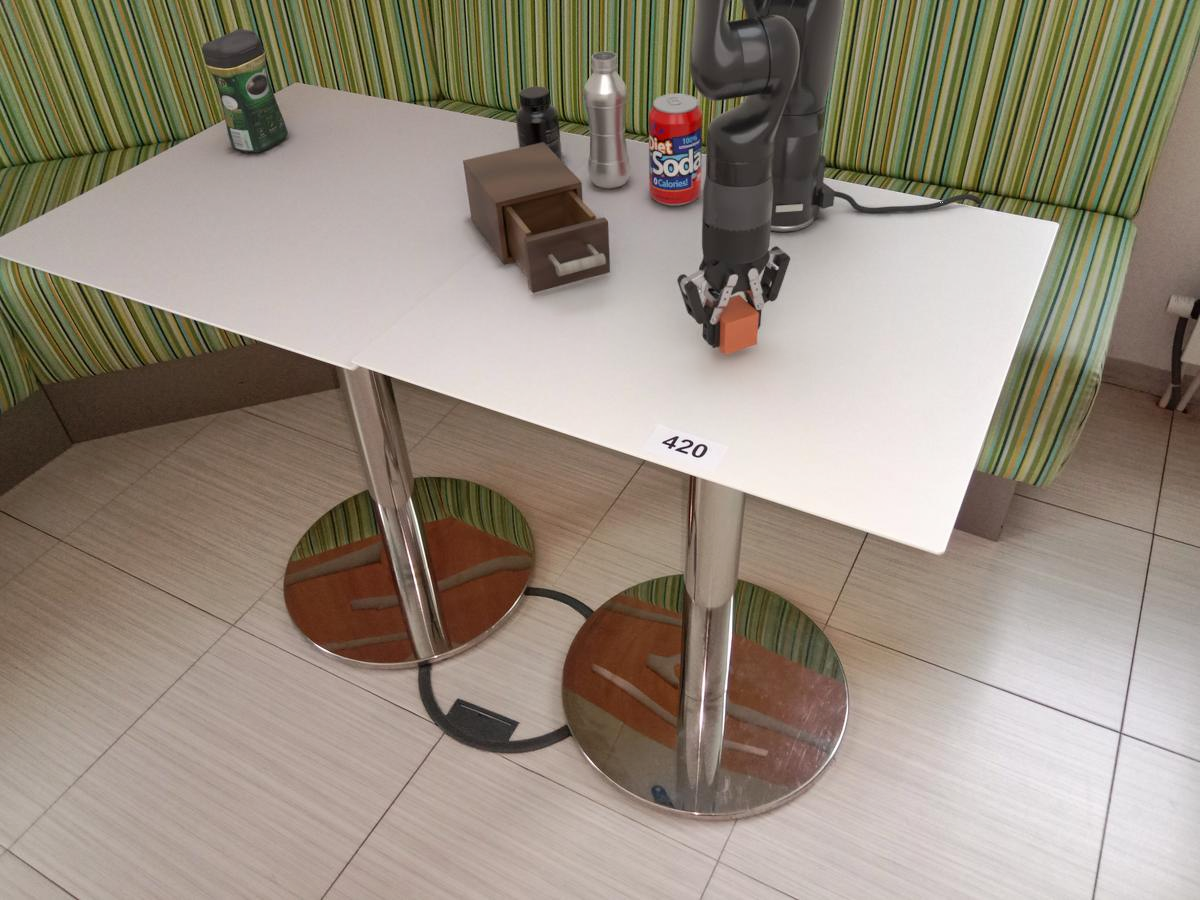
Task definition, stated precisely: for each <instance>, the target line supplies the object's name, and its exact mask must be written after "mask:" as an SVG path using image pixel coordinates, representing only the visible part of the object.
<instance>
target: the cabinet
mask: <svg viewBox="0 0 1200 900" xmlns="http://www.w3.org/2000/svg"><path fill="white" fill-rule="evenodd" d="M462 162H463V170H464V177H465V185H466V190H467V199H468V204H469V213H470V218H471V221H472V222H473V224H474V226H475V227H476V228H477V229H478V231H479V233H480V234H481V235H482V236H483V239H485V241H486V242H487V244H488V245H489V246H490V248H491V249H492V251H493V252H494V253H495V254H496V255H495V256H497V257H498V259H499V260H500V262H501V263H502V265H508V264H511V263H517V262H516V261H515V259H514V258H513V256H512V255H511V254H510V252H509V251H508V250H507V246H506V238H505V229H504V221H503V213H502V207H503V206H507V205H511V204H515V203H519V202H523V201H527V200H531V199H535V198H539V197H544V196H548V195H552V194H556V193H560V192H564V191H568V190H573V191H574V193H575V194H576V195H577V196H578V197H579V198H580V199H581V200H582V201H583V202H584V199H583V182H582V180H580V179H579V177H578V176H577V175H576V174H575V173H574V172H573V171H572V170H571V169H570V168H569V167H568V166H567V165H566V164H565V163H564V162H563V160H562V161H561V160H560V159H559V158H558V157H557V156H556V155H555V154H554V153H553V152H552V150H551V149H550V148H549V147H548V146H547V145H546V144H545V143H544V142H542V143H538V144H533V145H529V146H524V147H520V148H519V147H517V148H512V149H508V150H502V151H498V152H493V153H489V154H485V155H481V156H477V157H473V158H467V159H464V160H463V159H462Z"/></svg>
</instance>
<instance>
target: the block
mask: <svg viewBox="0 0 1200 900" xmlns="http://www.w3.org/2000/svg"><path fill="white" fill-rule="evenodd" d="M758 320H759V313H758V312H757V311H756V310H755V309H754V308H753V307H752V306H751V305H750V304H749V303H748V302H747V300H746V299H745V298H744V297H743V296H742V295H740V294H737V295H734V296H730V299H729V302H728V304H727V307H724V308H723V311H722V313H721V316H720V319H719V322H720V346H719V347H716V348H717V349H718V350H719V352H721V353H722V354H723V355H724V356H725V355H728V354H731V353H734V352H738V351H740V350H743V349H747V348H749V347H752V346H756V345H757V344H758V332H759V329H758Z"/></svg>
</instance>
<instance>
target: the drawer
mask: <svg viewBox="0 0 1200 900" xmlns="http://www.w3.org/2000/svg"><path fill="white" fill-rule="evenodd" d="M502 213H503V221H504V229H505V238H506V246H507V250H508V251H509V252H510V254H511V255H512V256H513V258H514V259H515V261H516V262H515V263H517V265H518V267H519V268H520V269H521V270H522V272H523V273H524V274H525V276H526V277H527V280H528V288H529V290H530V292H531V293H532V294H535V293H539V292H542V291H546V290H550V289H553V288H557V287H561V286H564V285H565V286H566V285H568V284H572V283H575V282H580V281H583V280H586V279H587V280H588V279H590V278H594V277H598V276H601V275H604V274H608V273H611V266H610V265H611V261H610V260H611V259H610V236H609V235H610V234H609V221H608V220H607V218H606V217H605V216H604V217H603V216H602V217H600V218H596V217H597V216H596V215H597V214H596V213H594V212H593V211H592V210H591V208H590V207H589V206H587V204H586V203H585V202H584V200H583V201H582V200H581V199H580V198H579V197H578V196H577V195H576V194H575V193H574V191H573V190H568V191H564V192H560V193H556V194H552V195H548V196H544V197H539V198H535V199H531V200H527V201H523V202H519V203H515V204H511V205H507V206H503V207H502Z"/></svg>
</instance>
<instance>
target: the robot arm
mask: <svg viewBox="0 0 1200 900" xmlns="http://www.w3.org/2000/svg"><path fill="white" fill-rule="evenodd" d="M731 1H732V0H695V4H694V5H695V6H694V19H693V28H692V29H693V30H692V37H691V45H690V52H689V54H690V55H689V72H690V77H691V80H692V83H693V85H694V87H695V88H696V90H697V91H698V93H699V94H700V95H701V96H702V97H704V98H705V99H707V100H709V101H716V102H717V101H718V102H719V101H726V100H732V99H737V98H743V97H745V98H744V100H743V101H742V102H741V103H740V104H738V105H736V106H734V107H733V108H731V109H729V110H727V111H724V112H722V113H720V114H718V115H717V116H715V117H713V118H712V120H711V121H710V122H709V124H708V126H707V129H706V130H707V131H706V142H705V144H706V145H705V149H706V150H705V151H706V152H705V158H706V159H705V177H704V182H703V189H702V216H701V217H702V218H701V250H702V260H701V263H700V264H699V268H698V270H697V271H695V272H694V273H692V274H690V275H686V274H685V273H683V274H682V273H681V274H680V275H679V276H678V277H677V279H676V281H677V284H678V285H677V286H678V287H679V290H680V294H681V297H682V300H683V303H684V306H685V309H686V312H687V314H688V315H689V316H691V317H692V319H693V320H694V321H695V322H696V324H698V325H702V334H701V335H702V339H703V340H704V341H705V342H706V344H707V345H709V346H710V347H711V348H712V349H716V348H717V347H719V346H720V322H719V319H720V316H721V313H722V311H723V308H724V307H727V304H728V302H729V299H730V297H732V296H733V295H735V294H736V293H740V292H742V293H743V295H744V300H746V301H747V302H748V303H749V304H750V305H751V306H752V307H753V308H754V309H755V310H756V311H757V312H758V313H759V320H758V330H759V329H760V327H761V325H762V310H763V308H764V307H765V304H766V303H768V302H775V301H776V300H777V299H778V296H779V294H780V291H781V288H782V285H783V282H784V280H785V276H786V273H787V270H788V267H789V264H790V262H791V257H790V255H789V254H787V253H786V252H785V251H784V250H782V249H781V248H780V247H779V246H777V245H775V246H773V247H772V248H771V249H770V243H771V232H785V233H786V232H787V233H788V232H795V231H800V230H802V229H805V228H807V227H809V226H810V225H811V224H812V223H813V221H814V220H817V219H819V218H820V213H821V209H822V210H823V209H827V208H830V207H834V203H835V198H839V199H843V200H845V201H847V202H848V203H849V204H850V206H851V207H852V208H853V209H855V210H856V211H859V212H862V213H867V214H879V213H880V214H881V213H892V212H893V213H894V212H896V213H897V212H899V213H900V212H917V211H918V212H919V211H927V210H934V209H938V208H941V207H944V206H947V205H949V204H952V203H955V202H958V201H962V200H969V201H971V202H974V203H976V204H978V205H983V204H984V202H983V200H982V199H981V198H980V197H978V196H976V195H974V194H972V193H962V194H958V195H954V196H952V197H949V198H946V199H943V200H941V201H937V202H933V203H927V204H926V203H925V204H917V205H896V206H895V205H894V206H879V207H869V206H864V205H860V204H859V203H857V202H856V200H855V199H854V198H853V197H852V196H851V195H849V194H846V193H844V192H841V191H837V190H834V189H833V188H832V187H830V186H829V185H827V183H825V182H824V178H825V170H826V163H827V158H826V156H825V155H824V154H823V153H822V145H823V134H824V125H825V117H826V106H827V102H828V101H827V100H828V93H829V90H830V87H831V82H832V79H833V75H834V70H835V64H836V63H835V62H836V56H837V50H838V44H839V39H840V32H841V28H842V27H841V26H842V21H843V12H844V0H741V2H742V5H743V9H744V12H745V13H744V14H745V17H746V18H742V19H737V20H736V19H735V20H729V21H728V20H727V13H728V7H729V4H730V2H731ZM940 202H941V203H940ZM942 202H943V203H942ZM769 249H770V250H769ZM762 272H763V273H762ZM761 274H762V276H761V278H759V277H760V275H761ZM703 282H706V284H705V287H704V290H702V288H703V287H702V285H703ZM702 293H703V296H704V298H703V301H702V300H701V296H700V295H701V294H702Z"/></svg>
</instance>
